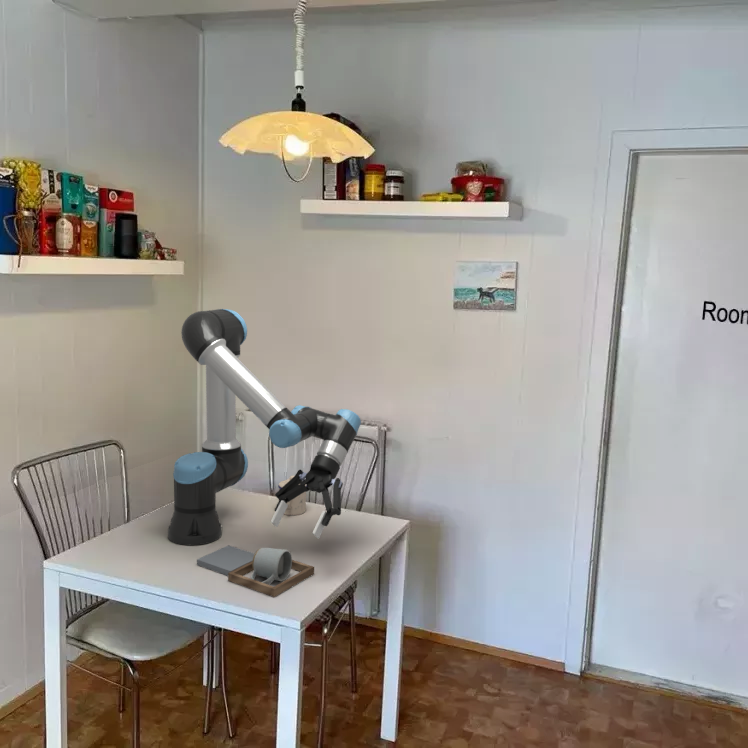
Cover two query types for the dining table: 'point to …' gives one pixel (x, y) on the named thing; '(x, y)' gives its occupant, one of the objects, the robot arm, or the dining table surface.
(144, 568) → the dining table surface
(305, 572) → the walnut frame
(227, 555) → the grey board
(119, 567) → the dining table surface
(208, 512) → the robot arm
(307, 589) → the dining table surface
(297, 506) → the teacup with lid
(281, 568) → the ceramic mug
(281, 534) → the dining table surface
